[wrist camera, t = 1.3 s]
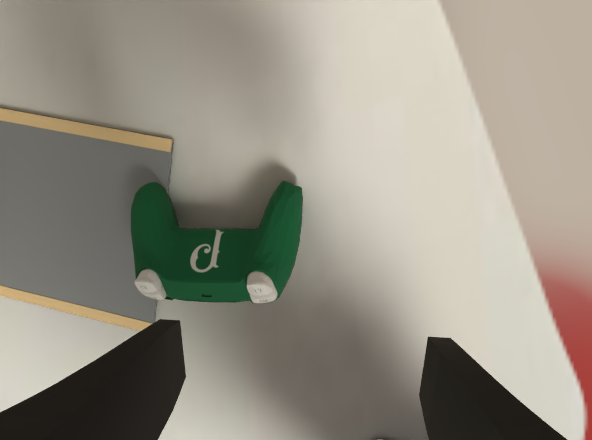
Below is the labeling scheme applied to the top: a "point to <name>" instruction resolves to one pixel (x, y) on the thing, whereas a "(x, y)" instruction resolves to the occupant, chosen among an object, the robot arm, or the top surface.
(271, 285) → the gaming controller
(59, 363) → the top surface
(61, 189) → the tray
